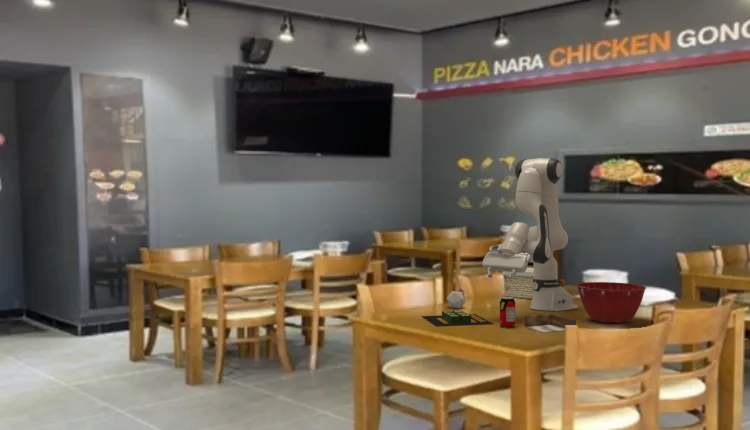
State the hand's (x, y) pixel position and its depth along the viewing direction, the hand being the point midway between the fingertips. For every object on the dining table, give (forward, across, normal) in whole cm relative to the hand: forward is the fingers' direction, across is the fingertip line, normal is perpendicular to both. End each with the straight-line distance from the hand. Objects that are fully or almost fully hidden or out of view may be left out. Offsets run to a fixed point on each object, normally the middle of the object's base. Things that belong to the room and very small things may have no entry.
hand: (499, 277), depth 336 cm
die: (-1, +35, -30) cm, 46 cm away
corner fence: (+15, -24, -11) cm, 31 cm away
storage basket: (-37, +23, -68) cm, 81 cm away
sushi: (+20, +17, -9) cm, 27 cm away
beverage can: (+19, -8, -8) cm, 22 cm away
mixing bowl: (-7, -38, -35) cm, 52 cm away
